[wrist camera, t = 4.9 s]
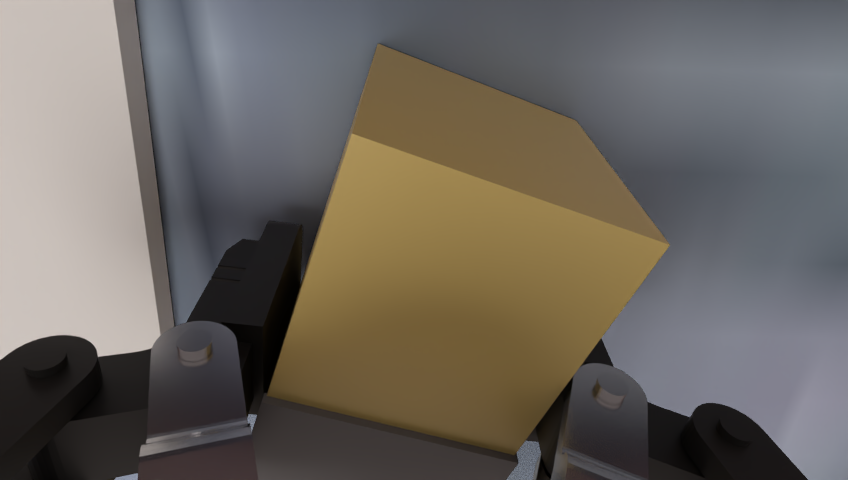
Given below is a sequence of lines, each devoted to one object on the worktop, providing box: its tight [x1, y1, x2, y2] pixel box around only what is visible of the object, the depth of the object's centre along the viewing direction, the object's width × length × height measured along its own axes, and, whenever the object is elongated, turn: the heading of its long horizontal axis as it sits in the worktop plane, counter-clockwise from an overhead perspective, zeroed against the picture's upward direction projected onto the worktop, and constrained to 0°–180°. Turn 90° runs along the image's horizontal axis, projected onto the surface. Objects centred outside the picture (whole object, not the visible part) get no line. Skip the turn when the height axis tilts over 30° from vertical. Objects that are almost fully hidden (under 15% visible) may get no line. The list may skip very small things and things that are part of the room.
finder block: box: [252, 44, 670, 480], centre depth 11 cm, size 5×9×5 cm, turn 159°
